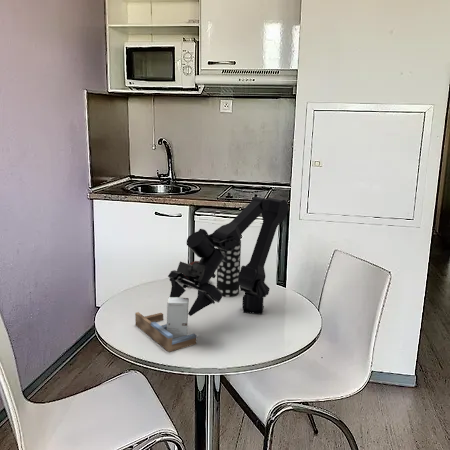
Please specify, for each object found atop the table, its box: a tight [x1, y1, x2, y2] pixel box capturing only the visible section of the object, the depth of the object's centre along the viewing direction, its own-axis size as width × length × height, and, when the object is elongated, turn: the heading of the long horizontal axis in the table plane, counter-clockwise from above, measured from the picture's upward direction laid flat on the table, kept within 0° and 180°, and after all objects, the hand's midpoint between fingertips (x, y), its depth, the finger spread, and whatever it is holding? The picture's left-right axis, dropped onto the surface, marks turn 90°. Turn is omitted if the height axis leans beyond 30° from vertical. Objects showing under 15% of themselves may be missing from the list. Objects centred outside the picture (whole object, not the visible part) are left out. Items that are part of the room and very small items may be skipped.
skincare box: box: [166, 296, 189, 340], centre depth 142 cm, size 6×4×12 cm
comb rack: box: [135, 311, 198, 353], centre depth 146 cm, size 21×9×5 cm, turn 36°
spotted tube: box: [216, 240, 242, 298], centre depth 179 cm, size 8×8×20 cm
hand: (178, 310), depth 142 cm, fingers open, 9 cm apart
